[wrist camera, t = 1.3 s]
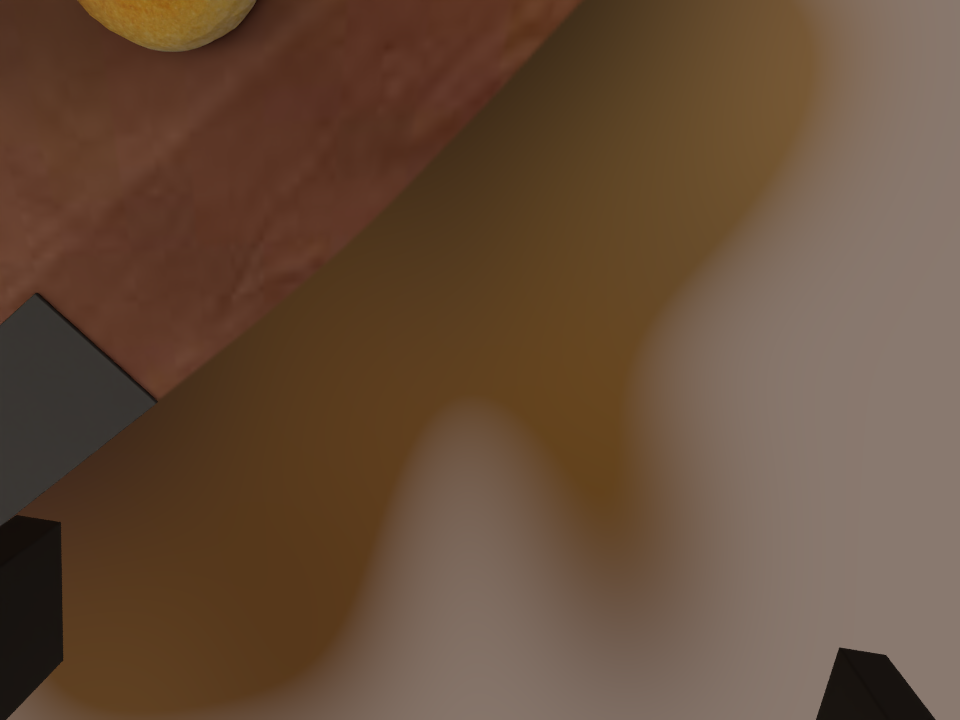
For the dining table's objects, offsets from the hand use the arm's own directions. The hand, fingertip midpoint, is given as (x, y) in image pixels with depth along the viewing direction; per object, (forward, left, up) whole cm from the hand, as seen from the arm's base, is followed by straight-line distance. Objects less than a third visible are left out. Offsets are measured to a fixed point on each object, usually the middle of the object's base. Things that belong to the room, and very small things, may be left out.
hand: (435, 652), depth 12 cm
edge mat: (+14, -26, -25) cm, 39 cm away
